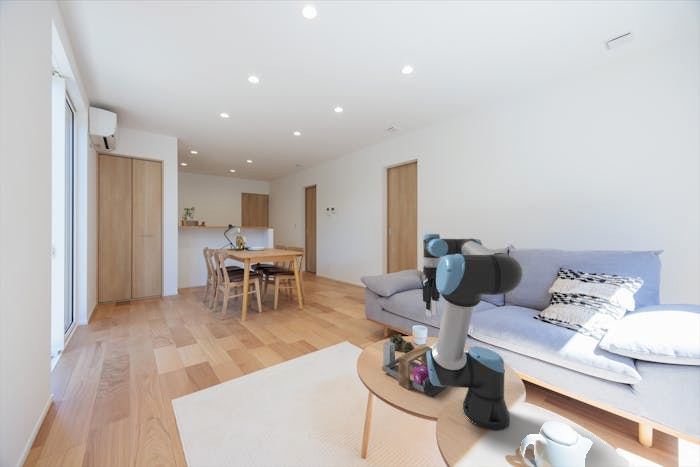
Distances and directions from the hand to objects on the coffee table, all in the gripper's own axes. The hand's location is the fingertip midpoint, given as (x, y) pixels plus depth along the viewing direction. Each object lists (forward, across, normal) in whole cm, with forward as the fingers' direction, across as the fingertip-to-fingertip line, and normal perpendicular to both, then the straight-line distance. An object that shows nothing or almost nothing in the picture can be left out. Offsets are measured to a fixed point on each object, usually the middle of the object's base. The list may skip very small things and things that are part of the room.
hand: (431, 315), depth 128 cm
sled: (+26, +12, -5) cm, 29 cm away
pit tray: (+27, +12, +10) cm, 31 cm away
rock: (+27, -8, -24) cm, 37 cm away
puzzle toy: (+27, +12, +3) cm, 30 cm away
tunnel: (+27, +12, 0) cm, 29 cm away
